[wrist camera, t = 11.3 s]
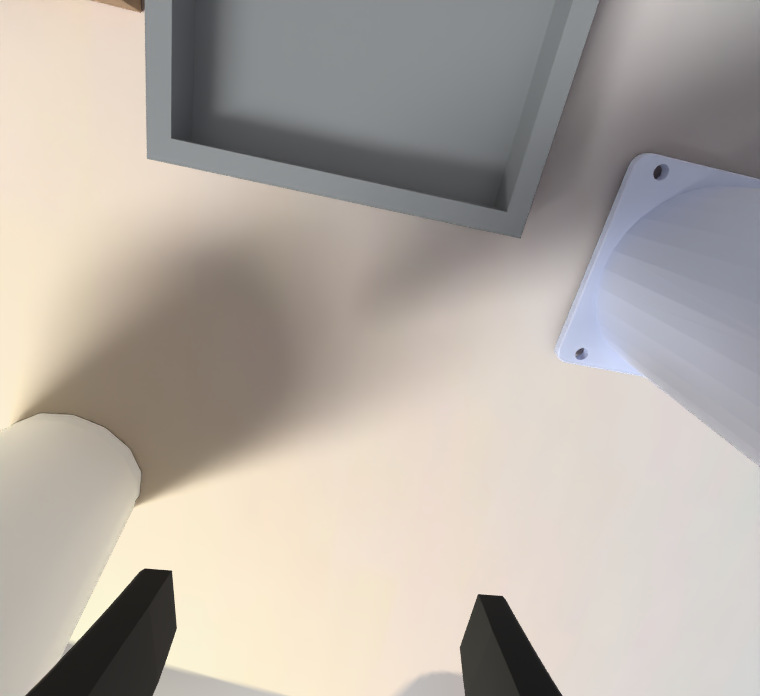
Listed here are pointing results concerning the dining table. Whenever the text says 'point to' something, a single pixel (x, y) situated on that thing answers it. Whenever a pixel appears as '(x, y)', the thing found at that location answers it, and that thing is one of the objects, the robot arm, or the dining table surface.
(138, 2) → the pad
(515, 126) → the gray tray
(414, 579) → the dining table surface
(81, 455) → the foam cup
